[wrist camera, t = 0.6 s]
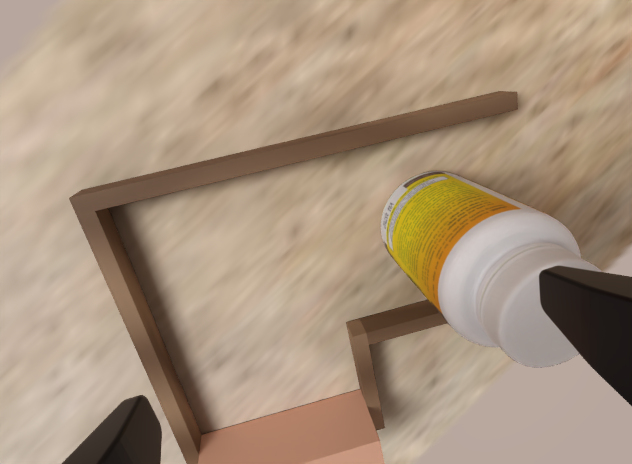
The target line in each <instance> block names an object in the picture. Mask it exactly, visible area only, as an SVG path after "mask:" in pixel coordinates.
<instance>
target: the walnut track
mask: <svg viewBox="0 0 632 464" xmlns="http://www.w3.org/2000/svg"><path fill="white" fill-rule="evenodd" d="M517 109H518V102H517V92H503V91H498V92H494V93H490V94H486V95H482V96H477V97H473V98H469V99H465V100H460V101H456V102H452V103H448V104H443V105H439V106H435V107H431V108H427V109H422V110H418V111H414V112H410V113H405V114H401V115H397V116H393V117H388V118H384V119H380V120H376V121H372V122H367V123H363V124H359V125H355V126H350V127H346V128H342V129H338V130H333V131H329V132H325V133H321V134H317V135H312V136H308V137H304V138H300V139H295V140H291V141H287V142H283V143H278V144H274V145H270V146H266V147H262V148H257V149H253V150H249V151H245V152H240V153H236V154H232V155H228V156H223V157H219V158H215V159H211V160H207V161H202V162H198V163H194V164H190V165H185V166H181V167H177V168H173V169H168V170H164V171H160V172H156V173H152V174H147V175H143V176H139V177H135V178H130V179H126V180H122V181H118V182H113V183H109V184H105V185H101V186H97V187H92V188H88V189H84V190H81V191H79V192H78V193H76V194H75V195H73V196H72V197H70V198H69V199H70V202H71V204H72V206H73V208H74V211H75V213H76V215H77V217H78V220H79V222H80V224H81V226H82V229H83V231H84V233H85V235H86V238H87V240H88V242H89V244H90V247H91V249H92V251H93V253H94V256H95V258H96V260H97V262H98V265H99V267H100V269H101V271H102V274H103V276H104V278H105V280H106V283H107V285H108V287H109V289H110V292H111V294H112V296H113V298H114V301H115V303H116V305H117V307H118V310H119V312H120V314H121V316H122V319H123V321H124V323H125V325H126V328H127V330H128V332H129V334H130V337H131V339H132V341H133V343H134V346H135V348H136V350H137V352H138V355H139V357H140V359H141V362H142V364H143V366H144V368H145V371H146V373H147V375H148V377H149V380H150V382H151V384H152V386H153V389H154V391H155V393H156V395H157V398H158V400H159V402H160V404H161V407H162V409H163V411H164V413H165V416H166V418H167V420H168V422H169V425H170V427H171V429H172V431H173V434H174V436H175V438H176V440H177V443H178V445H179V447H180V449H181V452H182V454H183V456H184V458H185V461H186V463H187V464H198V460H199V451H200V443H201V432H200V430H199V428H198V425H197V423H196V420H195V418H194V415H193V413H192V411H191V408H190V406H189V403H188V401H187V398H186V396H185V394H184V391H183V389H182V386H181V384H180V381H179V379H178V377H177V374H176V372H175V369H174V367H173V364H172V362H171V360H170V357H169V355H168V352H167V350H166V347H165V345H164V343H163V340H162V338H161V335H160V333H159V330H158V328H157V326H156V323H155V321H154V318H153V316H152V313H151V311H150V309H149V306H148V304H147V301H146V299H145V296H144V294H143V292H142V289H141V287H140V284H139V282H138V279H137V277H136V275H135V272H134V270H133V267H132V265H131V262H130V260H129V258H128V255H127V253H126V250H125V248H124V245H123V243H122V241H121V238H120V236H119V233H118V231H117V228H116V226H115V224H114V221H113V219H112V216H111V214H110V211H109V209H108V208H110V207H114V206H118V205H122V204H127V203H131V202H135V201H139V200H143V199H147V198H151V197H156V196H160V195H164V194H168V193H172V192H176V191H180V190H185V189H189V188H193V187H197V186H201V185H205V184H210V183H214V182H218V181H222V180H226V179H230V178H234V177H239V176H243V175H247V174H251V173H255V172H259V171H264V170H268V169H272V168H276V167H280V166H284V165H288V164H293V163H297V162H301V161H305V160H309V159H313V158H318V157H322V156H326V155H330V154H334V153H338V152H342V151H347V150H351V149H355V148H359V147H363V146H367V145H372V144H376V143H380V142H384V141H388V140H392V139H396V138H401V137H405V136H409V135H413V134H417V133H421V132H426V131H430V130H434V129H438V128H442V127H446V126H450V125H455V124H459V123H463V122H467V121H471V120H475V119H480V118H484V117H488V116H492V115H496V114H500V113H504V112H509V111H513V110H517ZM446 323H447V322H446V320H445V319H444V318H443V316H442V315H441V314H440V313H439V312H438V311H437V310H436V308H435V307H434V306H433V305H432V303H431V302H430V301H429V300H426V301H422V302H418V303H415V304H411V305H407V306H404V307H400V308H396V309H393V310H389V311H385V312H382V313H378V314H374V315H371V316H367V317H364V318H360V319H356V320H353V321H349V322H346V324H347V329H348V333H349V338H350V343H351V347H352V352H353V357H354V361H355V366H356V371H357V376H358V380H359V385H360V389H361V392H362V395H363V397H364V400H365V403H366V405H367V408H368V411H369V413H370V416H371V419H372V421H373V424H374V427H375V429H376V430H380V429H383V428H385V426H384V421H383V416H382V411H381V406H380V400H379V395H378V390H377V385H376V380H375V375H374V370H373V364H372V359H371V354H370V349H369V345H370V344H374V343H378V342H381V341H385V340H388V339H392V338H396V337H399V336H403V335H406V334H410V333H413V332H417V331H421V330H424V329H428V328H431V327H435V326H438V325H442V324H446Z"/></svg>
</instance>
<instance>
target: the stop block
mask: <svg viewBox="0 0 632 464" xmlns="http://www.w3.org/2000/svg"><path fill="white" fill-rule="evenodd" d="M198 464H384V459H383V454H382V449H381V444H380V440H379V437H378V434H377V432H376V429H375V427H374V424H373V421H372V419H371V416H370V413H369V411H368V408H367V405H366V403H365V400H364V397H363V395H362V392H361V389H359V390H356V391H352V392H349V393H345V394H342V395H338V396H335V397H331V398H328V399H325V400H321V401H318V402H314V403H311V404H307V405H304V406H300V407H297V408H293V409H290V410H286V411H283V412H279V413H276V414H272V415H269V416H265V417H262V418H258V419H255V420H251V421H248V422H245V423H241V424H238V425H234V426H231V427H227V428H224V429H220V430H217V431H213V432H210V433H206V434H203V435H201V443H200V451H199V460H198Z"/></svg>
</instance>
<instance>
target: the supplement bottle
mask: <svg viewBox="0 0 632 464" xmlns="http://www.w3.org/2000/svg"><path fill="white" fill-rule="evenodd" d="M381 235H382V239H383V243H384V245H385V247H386V249H387V251H388V253H389V254H390V255H391V257H392V258H393V259H394V260H395V261H396V263H397V264H398V265H399V266H400V267H401V269H402V270H403V271H404V272H405V273H406V274H407V276H408V277H409V278H410V279H411V280H412V282H413V283H414V284H415V285H416V286H417V287H418V288H419V290H420V291H421V292H422V293H423V294H424V295H425V297H426V298H427V299H428V300H429V301H430V302H431V303H432V305H433V306H434V307H435V308H436V310H437V311H438V312H439V313H440V314H441V315H442V316H443V318H444V319H445V320H446V322H447V323H448V324H449V325H450V326H451V327H452V328H453V329H454V330H455V331H456V332H457V333H458V334H459V335H461V336H462V337H464V338H465V339H467V340H469V341H471V342H473V343H475V344H478V345H482V346H487V347H500V348H501V349H502V350H503V351H504V352H505V353H506V354H507V355H508V356H509V357H510V358H511V359H513V360H514V361H516V362H518V363H520V364H522V365H525V366H529V367H536V368H539V367H540V368H542V367H550V366H554V365H558V364H561V363H563V362H566V361H568V360H570V359H572V358H573V357H575V356H577V355H578V354H580V353H579V352H578V351H577V350H576V349H575V348H574V346H573V345H572V344H571V343H570V342H569V340H568V339H567V338H566V337H565V336H564V335H563V333H562V332H561V331H560V330H559V329H558V328H557V326H556V325H555V324H554V323H553V322H552V320H551V319H550V318H549V317H548V316H547V315H546V313H545V312H544V310H543V309H542V306H541V303H540V290H539V274H540V272H541V271H542V270H544V269H547V268H551V267H554V266H566V267H573V268H579V269H585V270H591V271H598V272H602V271H601V270H600V269H599V268H597V267H596V266H595V265H593V264H591V263H589V262H588V261H586V260H584V259H582V258H581V254H580V250H579V247H578V244H577V242H576V240H575V238H574V237H573V235H572V233H571V232H570V231H569V230H568V229H567V228H566V227H565V226H564V225H563V224H562V223H561V222H559V221H558V220H556V219H555V218H553V217H551V216H549V215H548V214H546V213H544V212H541V211H539V210H537V209H534V208H532V207H530V206H528V205H525V204H523V203H521V202H518V201H516V200H514V199H512V198H509V197H507V196H504V195H502V194H500V193H498V192H495V191H493V190H491V189H488V188H486V187H484V186H481V185H479V184H477V183H474V182H472V181H470V180H467V179H465V178H462V177H460V176H457V175H455V174H452V173H448V172H442V171H432V172H426V173H422V174H419V175H416V176H414V177H412V178H410V179H408V180H407V181H405V182H404V183H403V184H401V185H400V186H399V187H398V188H397V189H396V190H395V191H394V192H393V194H392V195H391V196H390V198H389V200H388V201H387V203H386V205H385V208H384V210H383V214H382V219H381Z"/></svg>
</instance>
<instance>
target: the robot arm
mask: <svg viewBox="0 0 632 464" xmlns="http://www.w3.org/2000/svg"><path fill="white" fill-rule="evenodd" d="M539 290H540V303H541V306H542V309H543V310H544V312H545V313H546V315H547V316H548V317H549V318H550V319H551V320H552V322H553V323H554V324H555V325H556V326H557V328H558V329H559V330H560V331H561V332H562V333H563V335H564V336H565V337H566V338H567V339H568V340H569V342H570V343H571V344H572V345H573V346H574V348H575V349H576V350H577V351H578V352H579V353H580V355H581V356H582V357H583V358H584V359H585V360H586V361H587V362H588V364H590V366H591V367H592V368H593V369H594V370H595V371H596V372H597V373H598V374H599V375H600V376H601V377H602V378H604V380H605V381H606V382H607V383H609V384H610V385H611V386H612V387H613V388H614V389H615V390H616V391H617V392H618V393H619V394H620V395H621V396H622V397H623V398H624V399H625V400H626V401H627V402H628V403H629V404H630V405H631V406H632V277H629V276H622V275H616V274H610V273H604V272H598V271H591V270H585V269H579V268H573V267H566V266H554V267H551V268H547V269H544V270H542V271H541V272H540V274H539ZM161 439H162V431H161V426H160V423H159V421H158V419H157V417H156V415H155V413H154V411H153V409H152V407H151V405H150V403H149V401H148V399H147V398H146V397H145V396H143V395H139V396H136V397H133V398H129V399H126V400H124V401H123V402H121V403H120V404H119V405H118V407H117V408H116V409H115V410H114V411H113V412H112V413H111V414H110V415H109V416H108V417H107V418H106V419H105V420H104V421H103V422H102V423H101V424H100V425H99V426H98V427H97V428H96V429H95V430H94V431H93V432H92V433H91V434H90V435H89V436H88V437H87V438H86V439H85V440H84V441H83V442H82V443H81V444H80V446H79V447H78V448H77V449H76V450H75V451H74V452H73V453H72V454H71V455H70V456H69V457H68V458H67V459H66V460H65V461H64V462H63V463H62V464H160V461H161Z"/></svg>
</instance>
